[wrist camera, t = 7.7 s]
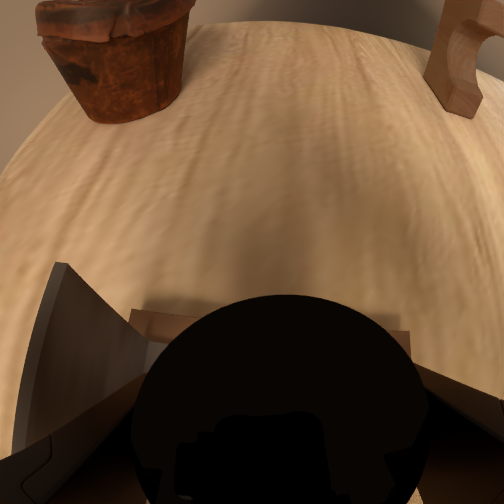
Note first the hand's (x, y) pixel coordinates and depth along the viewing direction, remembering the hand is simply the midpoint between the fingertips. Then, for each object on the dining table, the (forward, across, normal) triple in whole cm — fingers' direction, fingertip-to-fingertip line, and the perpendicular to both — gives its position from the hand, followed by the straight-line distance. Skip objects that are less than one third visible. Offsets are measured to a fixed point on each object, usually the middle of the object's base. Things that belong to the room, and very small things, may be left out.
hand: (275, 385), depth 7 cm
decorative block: (+35, -32, -19) cm, 51 cm away
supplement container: (+4, 0, +6) cm, 7 cm away
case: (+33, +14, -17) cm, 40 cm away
